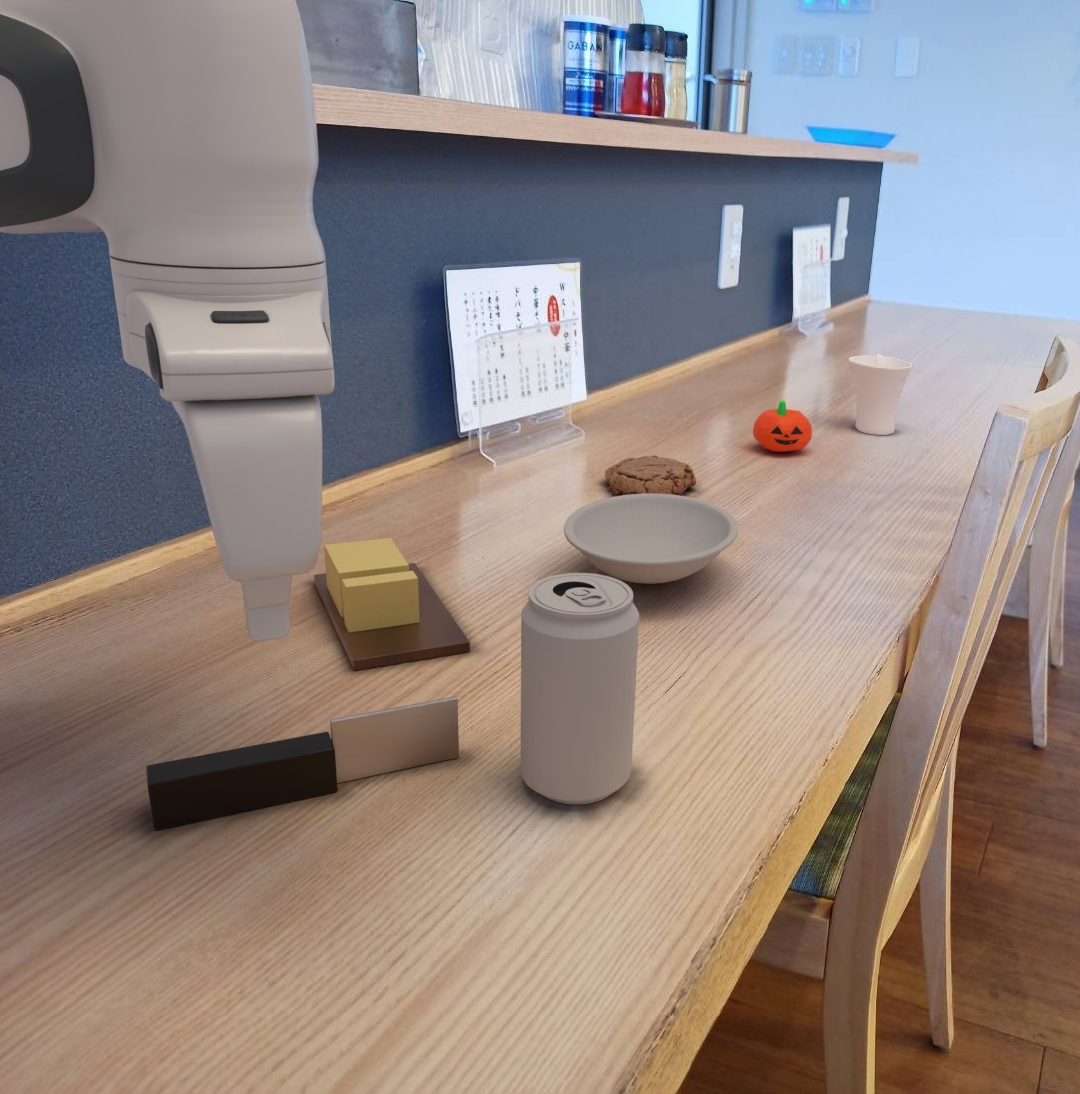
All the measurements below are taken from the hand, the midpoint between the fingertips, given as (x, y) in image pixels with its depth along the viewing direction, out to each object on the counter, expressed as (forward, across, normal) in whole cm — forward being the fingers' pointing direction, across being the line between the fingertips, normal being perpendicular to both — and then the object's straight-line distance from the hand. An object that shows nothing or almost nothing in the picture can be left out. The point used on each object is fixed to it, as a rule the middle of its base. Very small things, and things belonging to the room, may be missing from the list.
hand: (256, 596), depth 53 cm
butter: (+11, -23, +10) cm, 27 cm away
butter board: (+12, -21, +11) cm, 26 cm away
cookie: (+12, -44, +44) cm, 63 cm away
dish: (+12, -21, +33) cm, 41 cm away
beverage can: (+12, +5, +16) cm, 20 cm away
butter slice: (+11, -18, +10) cm, 23 cm away
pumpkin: (+12, -54, +67) cm, 87 cm away
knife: (+12, 0, +2) cm, 12 cm away
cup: (+12, -60, +86) cm, 105 cm away
